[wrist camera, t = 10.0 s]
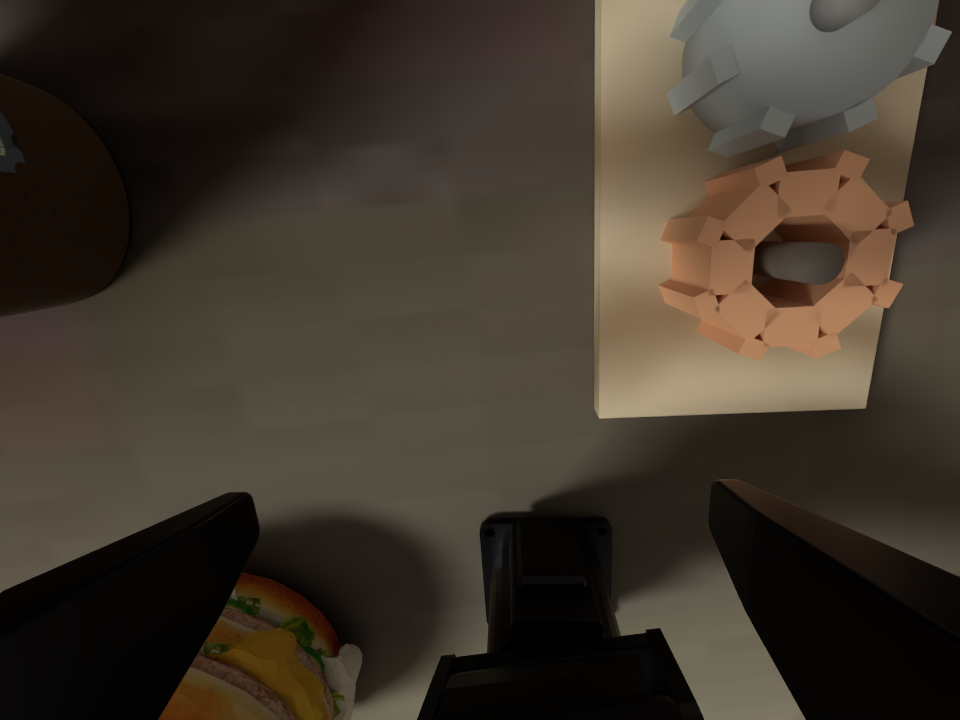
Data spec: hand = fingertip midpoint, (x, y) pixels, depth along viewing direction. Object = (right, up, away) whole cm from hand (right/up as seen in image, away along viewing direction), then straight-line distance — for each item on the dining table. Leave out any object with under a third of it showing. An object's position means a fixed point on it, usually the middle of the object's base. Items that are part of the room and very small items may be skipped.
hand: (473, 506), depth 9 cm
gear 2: (+10, +7, +9) cm, 15 cm away
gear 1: (+10, +13, +7) cm, 18 cm away
